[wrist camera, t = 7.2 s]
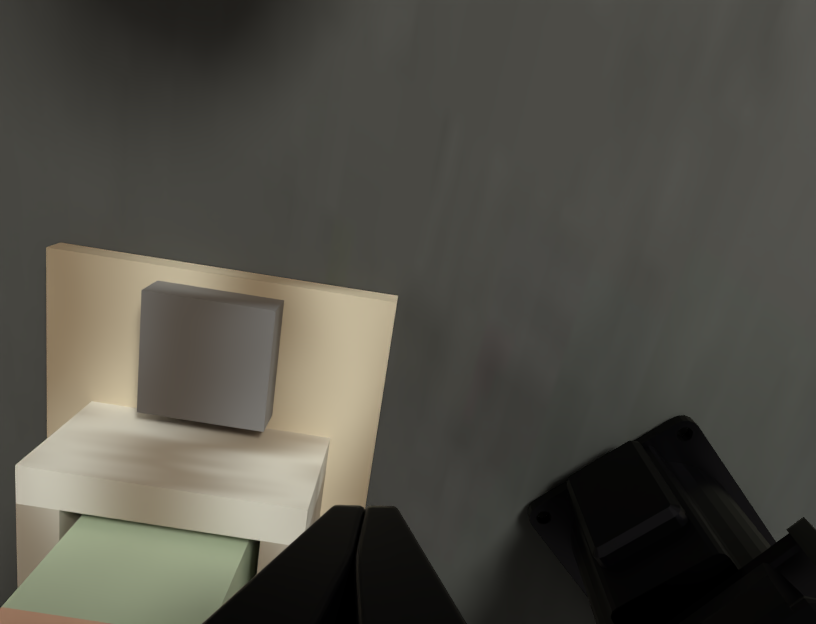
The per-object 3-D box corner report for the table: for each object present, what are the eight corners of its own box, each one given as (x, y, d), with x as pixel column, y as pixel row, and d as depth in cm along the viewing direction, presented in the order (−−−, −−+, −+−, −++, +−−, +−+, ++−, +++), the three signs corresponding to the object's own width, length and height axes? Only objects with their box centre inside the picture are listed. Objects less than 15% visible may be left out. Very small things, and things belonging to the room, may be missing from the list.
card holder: (398, 295, 21) (388, 347, 16) (331, 723, 26) (309, 857, 22) (60, 242, 21) (-49, 279, 16) (59, 682, 26) (-24, 808, 21)
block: (272, 487, 21) (192, 672, 14) (259, 607, 23) (180, 831, 16) (126, 464, 21) (-28, 640, 14) (122, 586, 23) (-20, 802, 16)
